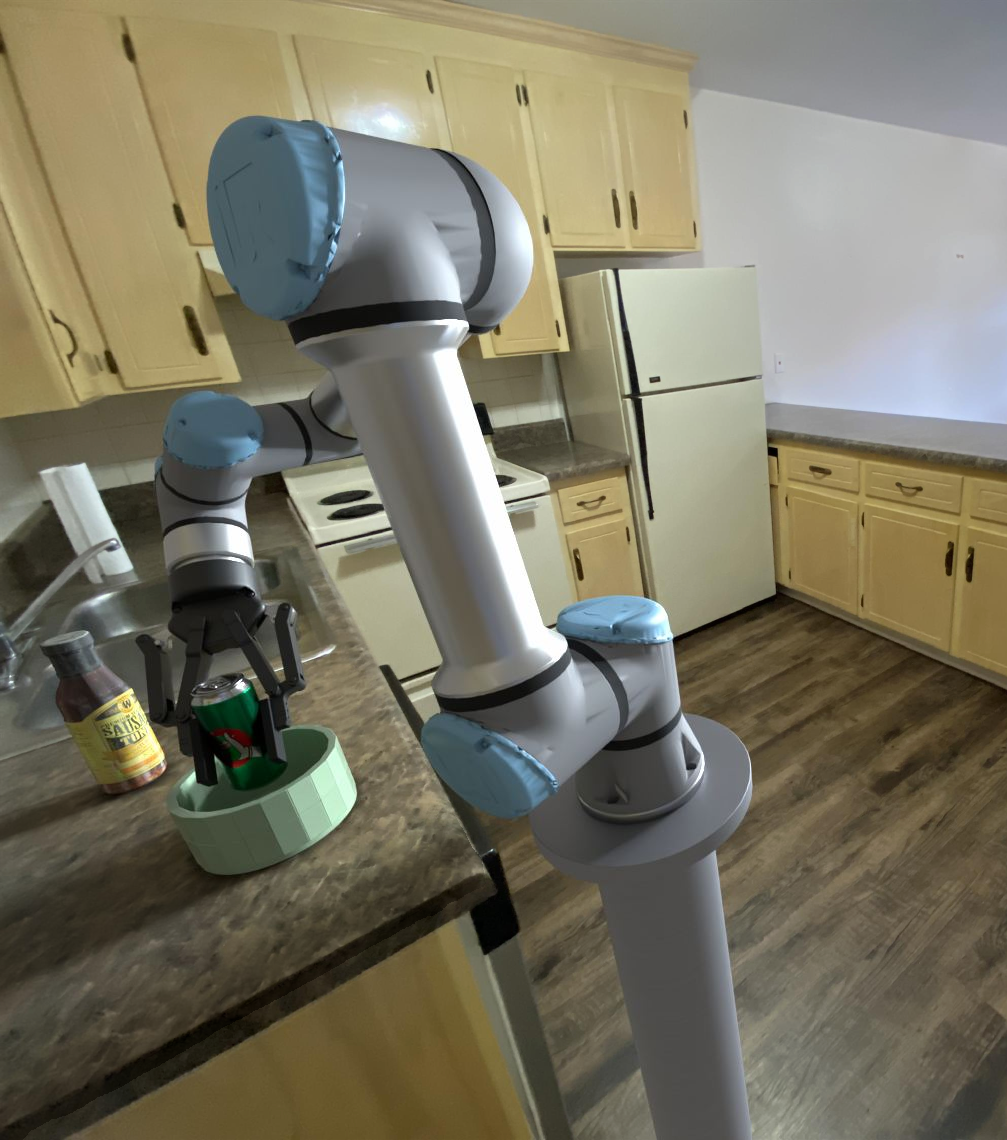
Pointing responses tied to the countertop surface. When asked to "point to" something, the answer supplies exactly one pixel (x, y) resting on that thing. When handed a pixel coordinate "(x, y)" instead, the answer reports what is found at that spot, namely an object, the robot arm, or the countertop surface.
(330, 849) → the countertop surface
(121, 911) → the countertop surface
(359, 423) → the robot arm
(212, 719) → the soda can
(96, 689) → the sauce bottle
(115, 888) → the countertop surface
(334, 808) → the bowl
